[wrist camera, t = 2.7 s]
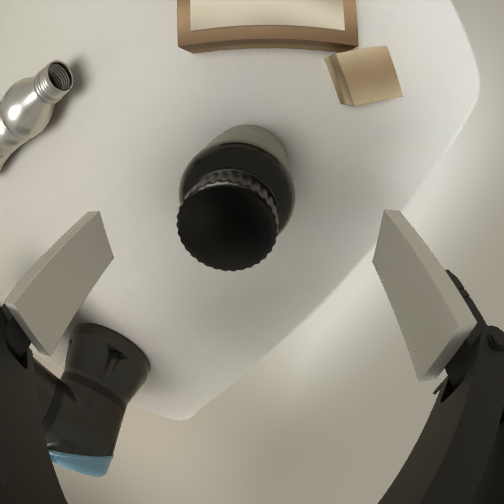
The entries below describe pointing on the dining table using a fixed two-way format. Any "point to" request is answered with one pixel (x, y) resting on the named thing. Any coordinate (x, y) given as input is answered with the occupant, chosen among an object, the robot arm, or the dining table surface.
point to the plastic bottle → (31, 106)
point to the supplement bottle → (235, 199)
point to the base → (267, 24)
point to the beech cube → (364, 76)
